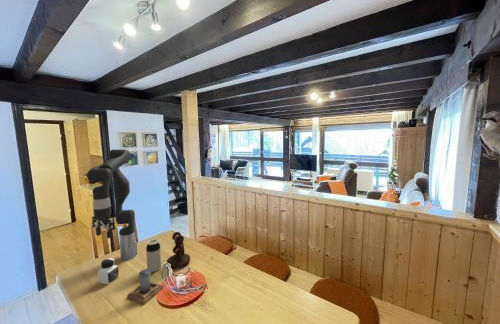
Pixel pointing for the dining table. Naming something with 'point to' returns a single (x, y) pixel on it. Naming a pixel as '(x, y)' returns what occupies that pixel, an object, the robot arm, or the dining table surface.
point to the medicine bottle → (107, 271)
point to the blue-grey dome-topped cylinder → (145, 281)
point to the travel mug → (153, 255)
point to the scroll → (178, 252)
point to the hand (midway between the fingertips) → (104, 236)
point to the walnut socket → (144, 297)
